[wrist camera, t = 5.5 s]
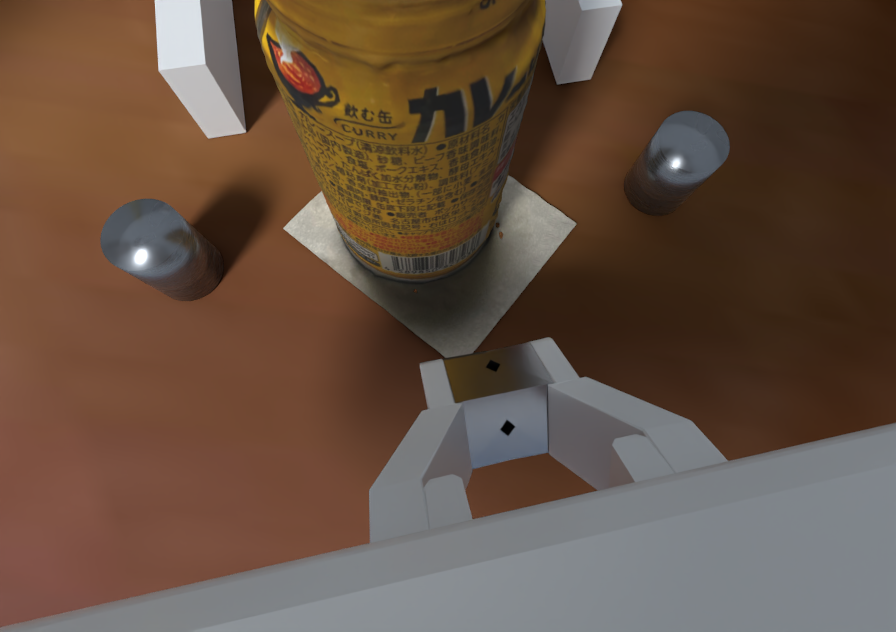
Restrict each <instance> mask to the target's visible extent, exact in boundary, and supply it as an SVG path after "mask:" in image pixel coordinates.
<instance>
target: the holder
mask: <svg viewBox="0 0 896 632" xmlns="http://www.w3.org/2000/svg"><path fill="white" fill-rule="evenodd" d="M545 1H546V5H545V7H546V18H545V24H546V25H545V30H544V36H543V39H542V40H543V43H544V46H545V49H546V52H547V55H548V59H549V62H550V65H551V68H552V71H553V74H554V77H555V80H556V83H557V85H558V84H564V83H570V82H577V81H583V80H590V79H591V77H592V75H593V73H594V70H595V68H596V66H597V63H598V61H599V59H600V56H601V54H602V51H603V49H604V47H605V44H606V42H607V40H608V37H609V35H610V33H611V30H612V28H613V26H614V23H615V21H616V19H617V16H618V14H619V11H620V9H621V7H622V3H621V0H545ZM155 12H156V31H157V49H158V67H159V72H160V73H161V74H162V76H163V77H164V79H165V80H166V81H167V83H168V84H169V85H170V87H171V88H172V90H173V91H174V92H175V94H176V95H177V96H178V98H179V99H180V100H181V102H182V103H183V105H184V106H185V107H186V109H187V110H188V111H189V113H190V114H191V116H192V117H193V118H194V120H195V121H196V122H197V124H198V125H199V126H200V128H201V129H202V131H203V132H204V133H205V135H206V136H207V137H208V138H215V137H221V136H228V135H234V134H240V133H246V125H245V116H244V106H243V97H242V88H241V79H240V70H239V61H238V52H237V43H236V34H235V24H234V15H233V6H232V0H155Z"/></svg>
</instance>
